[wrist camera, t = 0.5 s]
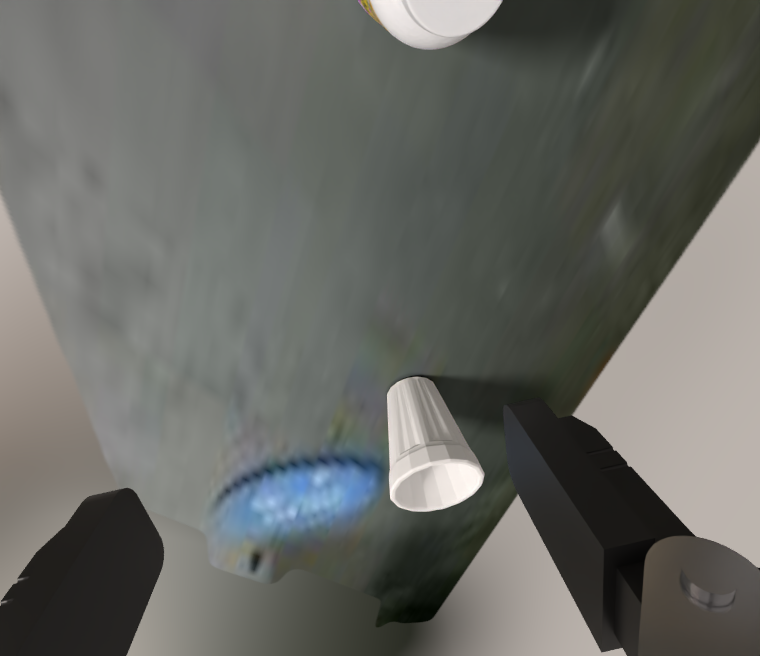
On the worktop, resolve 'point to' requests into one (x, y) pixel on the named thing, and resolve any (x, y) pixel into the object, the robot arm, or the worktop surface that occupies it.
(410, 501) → the cup
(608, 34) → the worktop surface
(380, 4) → the supplement bottle
